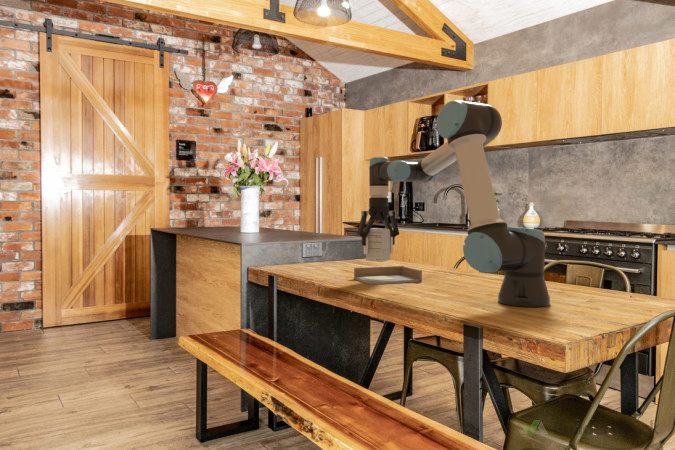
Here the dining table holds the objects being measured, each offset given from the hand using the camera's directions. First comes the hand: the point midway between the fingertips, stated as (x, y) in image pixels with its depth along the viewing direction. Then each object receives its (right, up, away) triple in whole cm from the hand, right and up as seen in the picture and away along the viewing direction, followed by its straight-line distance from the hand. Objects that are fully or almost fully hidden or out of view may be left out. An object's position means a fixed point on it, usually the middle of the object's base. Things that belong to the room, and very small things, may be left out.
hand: (378, 253), depth 210 cm
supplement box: (0, -3, 0) cm, 3 cm away
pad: (0, -11, 0) cm, 11 cm away
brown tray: (+4, -11, +2) cm, 12 cm away
